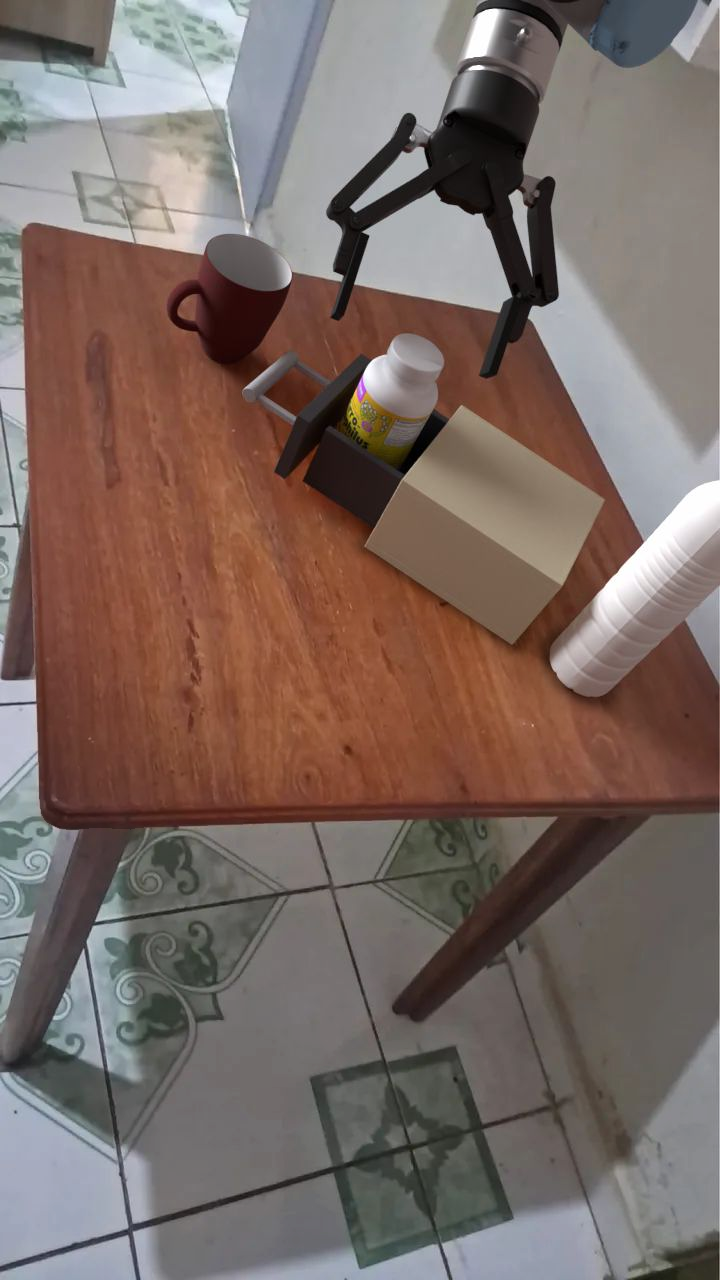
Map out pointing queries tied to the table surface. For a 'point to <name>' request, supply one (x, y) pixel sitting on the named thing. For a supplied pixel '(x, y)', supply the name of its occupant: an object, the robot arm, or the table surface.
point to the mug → (234, 296)
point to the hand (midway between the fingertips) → (413, 347)
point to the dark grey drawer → (337, 441)
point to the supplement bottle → (394, 399)
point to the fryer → (486, 525)
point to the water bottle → (644, 597)
